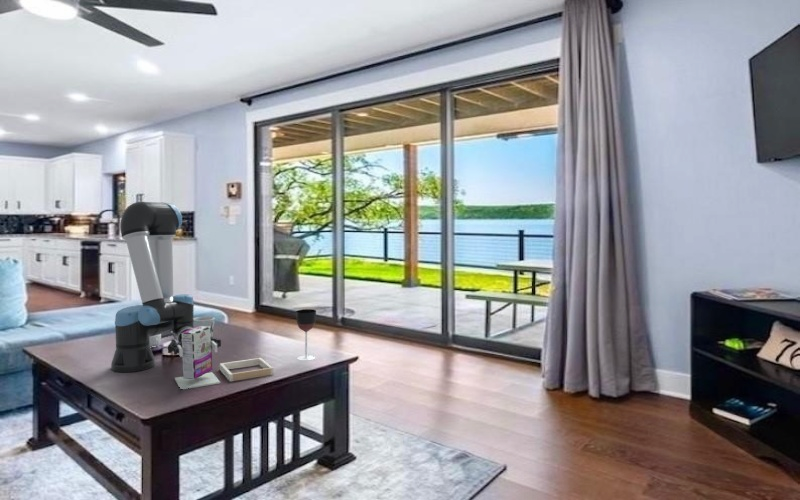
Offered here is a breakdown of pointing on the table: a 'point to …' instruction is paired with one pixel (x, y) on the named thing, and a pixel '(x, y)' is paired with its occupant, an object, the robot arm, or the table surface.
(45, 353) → the table surface
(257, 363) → the cream rectangular open frame
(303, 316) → the wineglass
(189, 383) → the rubber mat
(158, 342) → the teacup
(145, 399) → the table surface
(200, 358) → the candy bar box
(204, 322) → the mug
